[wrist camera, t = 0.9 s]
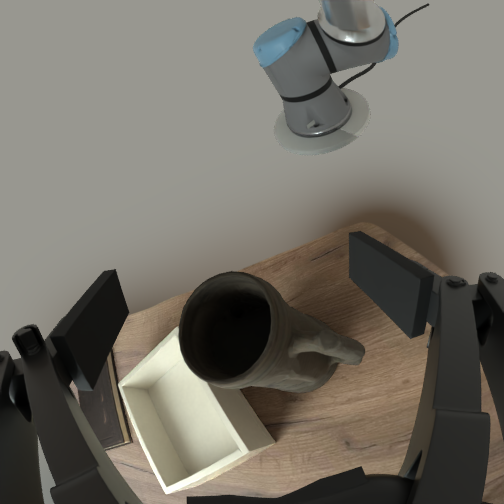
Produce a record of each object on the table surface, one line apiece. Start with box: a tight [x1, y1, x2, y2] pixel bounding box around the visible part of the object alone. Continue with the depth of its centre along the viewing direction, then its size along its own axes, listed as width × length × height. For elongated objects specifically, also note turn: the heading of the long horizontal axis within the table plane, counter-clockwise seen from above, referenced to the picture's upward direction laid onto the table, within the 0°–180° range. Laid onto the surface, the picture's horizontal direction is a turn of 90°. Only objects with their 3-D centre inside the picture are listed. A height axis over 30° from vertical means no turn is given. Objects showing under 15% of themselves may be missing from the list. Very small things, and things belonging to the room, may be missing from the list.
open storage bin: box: [118, 326, 276, 494], centre depth 37 cm, size 17×21×8 cm
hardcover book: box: [77, 349, 133, 451], centre depth 51 cm, size 16×23×2 cm
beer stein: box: [178, 271, 365, 393], centre depth 29 cm, size 15×11×20 cm
